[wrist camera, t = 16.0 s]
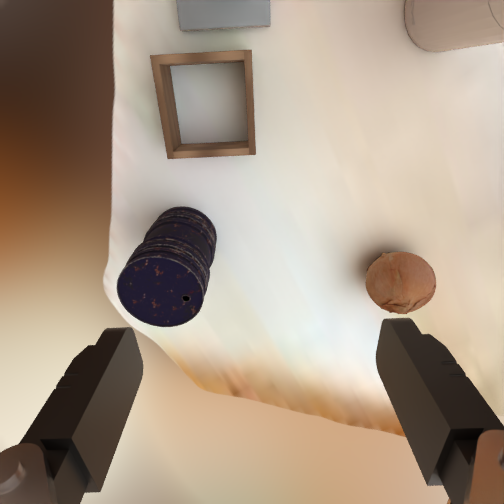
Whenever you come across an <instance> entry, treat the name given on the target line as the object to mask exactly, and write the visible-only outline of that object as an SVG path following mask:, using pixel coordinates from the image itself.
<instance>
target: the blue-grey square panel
mask: <svg viewBox="0 0 504 504" xmlns="http://www.w3.org/2000/svg"><path fill="white" fill-rule="evenodd" d="M176 1H177V9H178V17H179V24H180V30H181V31H198V30H215V29H233V28H250V27H268V26H270V0H176Z"/></svg>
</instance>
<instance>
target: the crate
mask: <svg viewBox="0 0 504 504" xmlns="http://www.w3.org/2000/svg"><path fill="white" fill-rule="evenodd" d="M150 58H151V64H152V70H153V76H154V82H155V88H156V94H157V99H158V105H159V111H160V117H161V123H162V129H163V134H164V140H165V146H166V152H167V158H168V159H177V158H198V157H218V156H239V155H256V147H255V123H254V98H253V73H252V50H238V51H220V52H203V53H185V54H167V55H150ZM230 62H244V63H245V83H246V103H247V123H248V141H238V142H218V143H198V144H181V138H180V131H179V124H178V118H177V111H176V104H175V97H174V91H173V84H172V77H171V70H170V66H176V65H194V64H212V63H230Z"/></svg>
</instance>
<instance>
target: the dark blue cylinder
mask: <svg viewBox="0 0 504 504" xmlns="http://www.w3.org/2000/svg"><path fill="white" fill-rule="evenodd" d="M216 240H217V236H216V230H215V228H214V225H213V224H212V222H211V221H210V219H209V218H208V217H207V216H206V215H204V214H203V213H202V212H200V211H198V210H196V209H193V208H190V207H174V208H171V209H169V210H167V211H165V212H164V213H162V214H161V215H160V216H159V217H158V219H157V220H156V221H155V222H154V223H153V225H152V226H151V228H150V229H149V230H148V232H147V233H146V235H145V238H144V241H143V243H141V244H140V245H139V246H138V247H137V248H136V249H135V251H134V252H133V254H132V255H131V257H130V258H129V260H128V262H127V263H126V266H125V267H124V269H123V270H122V272H121V274H120V275H119V278H118V281H117V293H118V297H119V299H120V302H121V303H122V305H123V306H124V308H125V309H126V310H127V311H128V312H129V313H130V314H131V315H132V316H134V317H135V318H137V319H138V320H140V321H142V322H144V323H147V324H150V325H153V326H159V327H173V326H178V325H182V324H184V323H186V322H188V321H190V320H191V319H193V318H194V317H195V316H196V315H197V314H198V312H199V311H200V309H201V307H202V304H203V300H204V296H205V294H206V291H207V287H208V282H209V278H210V270H209V268H210V266H211V265H212V263H213V260H214V254H215V248H216Z"/></svg>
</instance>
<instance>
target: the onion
mask: <svg viewBox="0 0 504 504" xmlns="http://www.w3.org/2000/svg"><path fill="white" fill-rule="evenodd" d="M366 289H367V291H368V294H369V296H370V297H371V299H372V300H373V301H374V302H375V303H376V304H377V305H378V306H379V307H381V309H384V310H387V311H389V313H392V312H394V313H398V314H407V313H409V312H412V311H415V310H417V309H419V308H421V307H422V306H424V305H425V304H427V303H428V302H429V301H430V300H431V298H432V297H433V295H434V292H435V289H436V278H435V274H434V271H433V269H432V267H431V266H430V265H429V264H428V263H427V262H426V261H425V260H424V259H423V258H421V257H419V256H417V255H414V254H411V253H407V252H393V253H387V254H386V253H382V255H381V257H379V258H378V259H377V260H376V261H375V262H373V263H372V264H371V265H370V267H368V269H367V275H366Z"/></svg>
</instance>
